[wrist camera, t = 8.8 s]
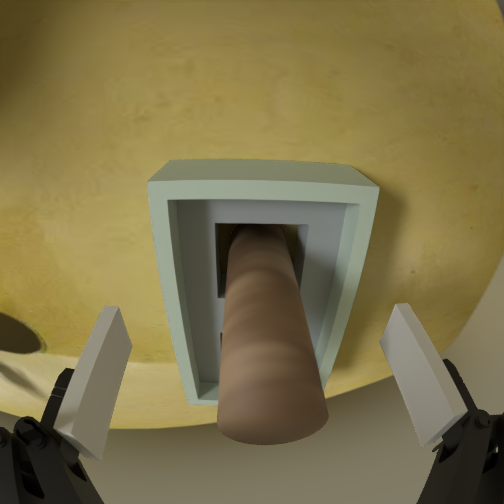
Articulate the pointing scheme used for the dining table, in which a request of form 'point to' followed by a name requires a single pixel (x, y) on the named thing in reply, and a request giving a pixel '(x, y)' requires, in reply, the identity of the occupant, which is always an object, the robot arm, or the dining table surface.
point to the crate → (262, 212)
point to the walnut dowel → (266, 345)
